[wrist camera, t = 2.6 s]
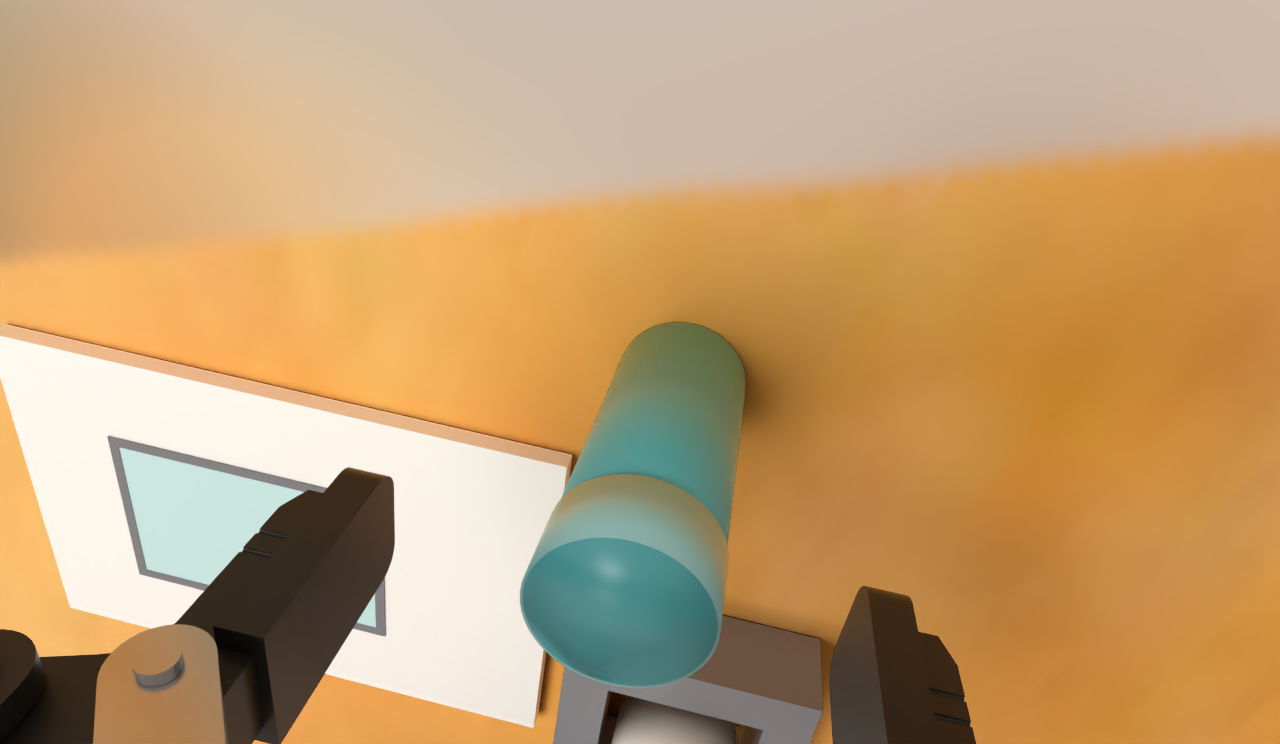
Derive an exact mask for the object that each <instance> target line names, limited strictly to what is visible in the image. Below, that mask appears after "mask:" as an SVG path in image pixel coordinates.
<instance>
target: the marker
mask: <svg viewBox="0 0 1280 744" xmlns="http://www.w3.org/2000/svg"><path fill="white" fill-rule="evenodd" d="M745 389H746V377H745V371H744V367H743V364H742V362H741V359H740V357H739V356H738V354H737V352H736V351H735V350H734V348H733V347H732V346H731V345H730V344H729V343H728V342H727V341H726V340H725V339H724V338H723V337H721V336H720V335H719V334H717V333H715V332H714V331H712V330H710V329H708V328H705V327H703V326H700V325H696V324H692V323H685V322H672V323H665V324H660V325H657V326H654V327H652V328H650V329H648V330H646V331H644V332H643V333H641V334H640V335H638V336H637V337H636V338H635V339H634V340H633V341H632V342H631V343H630V345H629V346H628V347H627V349H626V351H625V352H624V354H623V357H622V359H621V361H620V364H619V366H618V368H617V371H616V373H615V375H614V377H613V380H612V382H611V384H610V387H609V389H608V391H607V394H606V396H605V398H604V401H603V403H602V405H601V407H600V410H599V412H598V414H597V417H596V419H595V421H594V424H593V426H592V428H591V431H590V433H589V435H588V437H587V440H586V442H585V444H584V447H583V449H582V451H581V454H580V456H579V458H578V461H577V463H576V465H575V467H574V470H573V472H572V474H571V477H570V479H569V481H568V484H567V486H566V488H565V491H564V493H563V495H562V497H561V500H560V501H559V502H558V503H557V505H556V506H555V508H554V510H553V511H552V513H551V516H550V518H549V520H548V523H547V525H546V527H545V529H544V532H543V534H542V536H541V539H540V541H539V543H538V545H537V548H536V550H535V552H534V554H533V557H532V559H531V561H530V564H529V566H528V568H527V570H526V573H525V575H524V578H523V580H522V583H521V589H520V606H521V612H522V615H523V618H524V621H525V623H526V625H527V627H528V629H529V631H530V633H531V634H532V636H533V637H534V639H535V640H536V641H537V642H538V644H539V645H540V646H541V647H542V648H543V649H544V650H545V651H546V652H547V653H548V654H549V655H550V656H551V657H553V658H554V659H555V660H556V661H558V662H559V663H560V664H562V665H564V666H565V667H567V668H568V669H570V670H572V671H574V672H576V673H578V674H580V675H582V676H584V677H587V678H589V679H592V680H594V681H598V682H601V683H604V684H609V685H613V686H618V687H627V688H651V687H659V686H664V685H668V684H672V683H675V682H678V681H680V680H682V679H685V678H687V677H689V676H690V675H692V674H694V673H695V672H697V671H698V670H699V669H700V668H702V667H703V666H704V665H705V664H706V663H707V661H708V660H709V659H710V658H711V656H712V655H713V653H714V651H715V650H716V647H717V645H718V642H719V638H720V633H721V625H722V616H723V607H724V598H725V589H726V580H727V571H728V554H729V553H728V547H727V545H728V537H729V528H730V519H731V510H732V502H733V493H734V484H735V476H736V467H737V458H738V450H739V441H740V432H741V424H742V415H743V406H744V398H745Z"/></svg>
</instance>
